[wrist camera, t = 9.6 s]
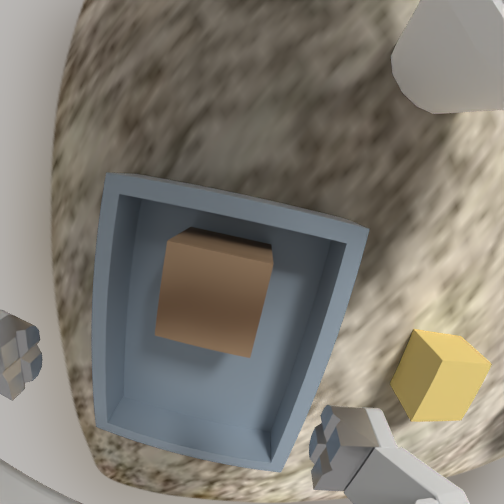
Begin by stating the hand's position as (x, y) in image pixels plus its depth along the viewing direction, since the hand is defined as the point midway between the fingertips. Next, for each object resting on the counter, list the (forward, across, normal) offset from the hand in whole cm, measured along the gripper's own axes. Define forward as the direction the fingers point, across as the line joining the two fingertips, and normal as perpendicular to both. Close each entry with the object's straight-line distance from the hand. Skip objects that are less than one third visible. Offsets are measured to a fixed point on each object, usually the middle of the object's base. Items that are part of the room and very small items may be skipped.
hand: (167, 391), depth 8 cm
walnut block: (+13, 0, +1) cm, 13 cm away
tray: (+14, 0, +5) cm, 14 cm away
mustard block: (+14, -17, +5) cm, 22 cm away
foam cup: (+14, -11, -16) cm, 24 cm away
